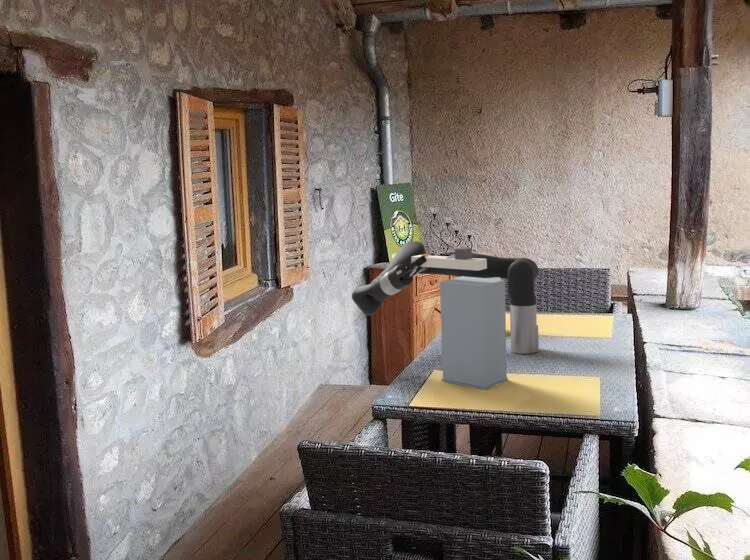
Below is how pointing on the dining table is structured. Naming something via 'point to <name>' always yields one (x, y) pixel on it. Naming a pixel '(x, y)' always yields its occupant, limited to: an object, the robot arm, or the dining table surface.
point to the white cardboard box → (455, 260)
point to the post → (473, 331)
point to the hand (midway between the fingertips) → (429, 257)
